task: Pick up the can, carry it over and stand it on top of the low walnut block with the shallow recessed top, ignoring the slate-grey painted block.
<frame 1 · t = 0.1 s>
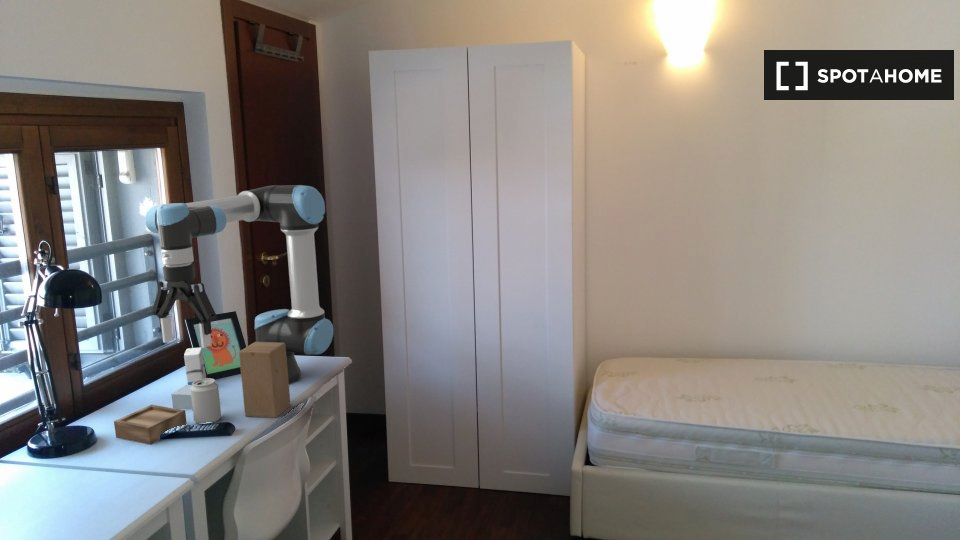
hand: (187, 343, 196), 28 cm above the table, fingers open, 13 cm apart
ink box: (197, 385, 248), on the table
can: (208, 421, 217), on the table
wooden block: (268, 411, 223), on the table
slate painted block: (192, 405, 230), on the table
walnut base block: (152, 431, 210), on the table
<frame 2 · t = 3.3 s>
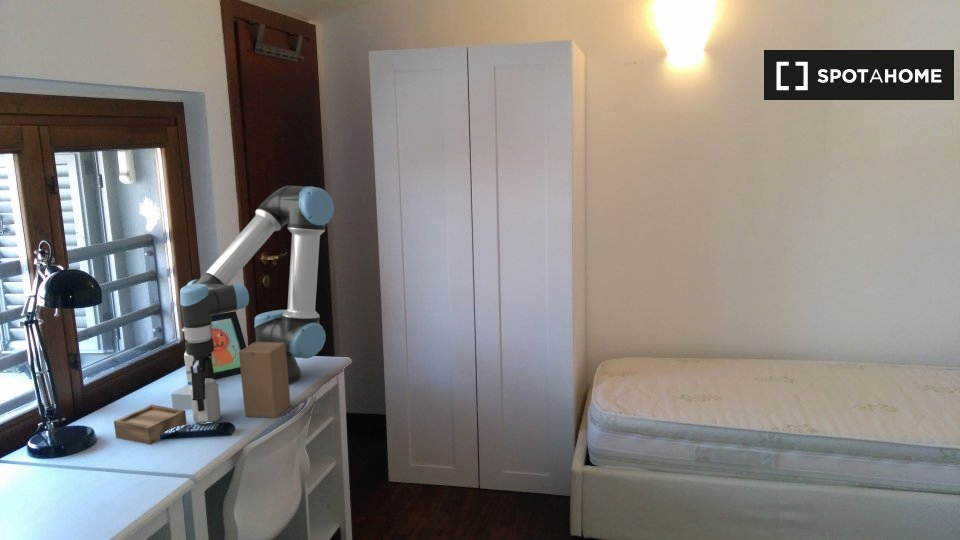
hand: (207, 415, 217), 2 cm above the table, fingers closed on can, 7 cm apart
can: (207, 421, 217), on the table, touching gripper
everything else where it was.
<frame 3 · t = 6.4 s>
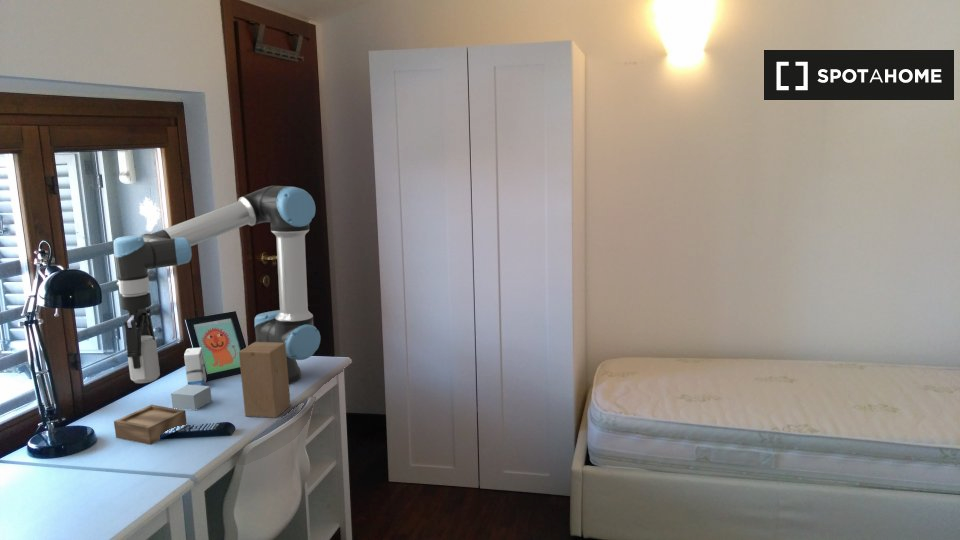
hand: (145, 373, 207), 17 cm above the table, fingers closed on can, 7 cm apart
can: (145, 380, 207), point 15 cm above the table, touching gripper
everything else where it was.
when the fingers open (6 cm above the table, at t = 9.9 s): can stays where it is, resting on walnut base block.
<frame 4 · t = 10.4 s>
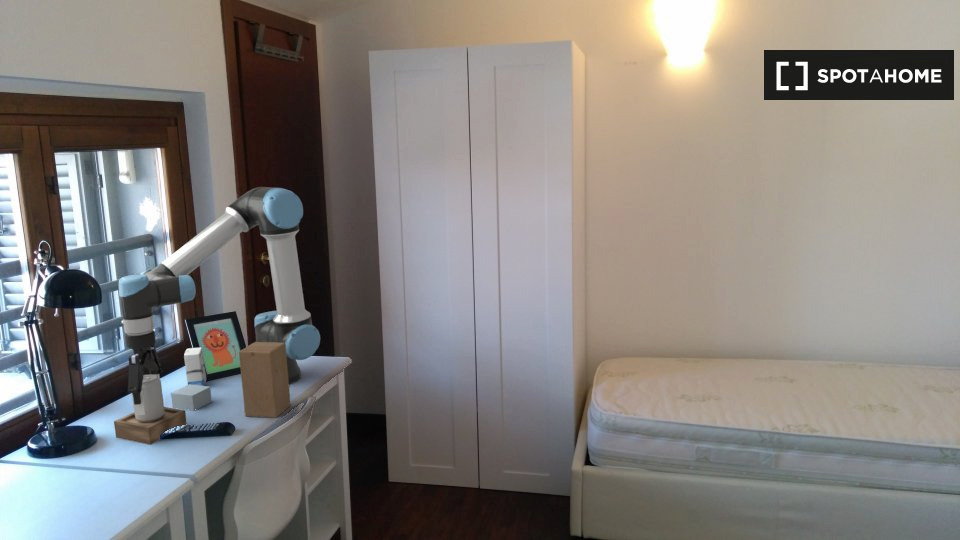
hand: (148, 405, 209), 8 cm above the table, fingers open, 13 cm apart
can: (150, 419, 210), point 4 cm above the table, touching walnut base block
everything else where it was.
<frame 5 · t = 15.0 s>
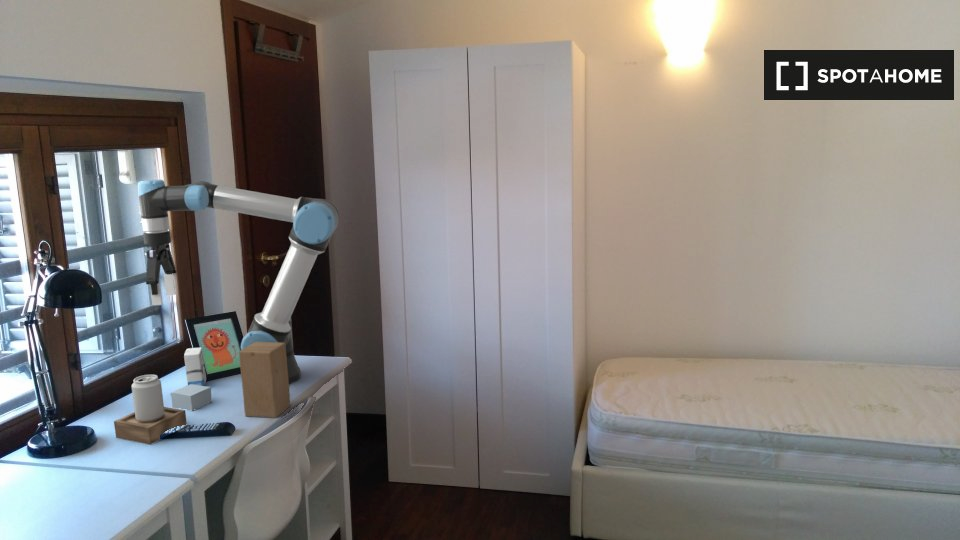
hand: (164, 299, 231), 32 cm above the table, fingers open, 13 cm apart
nothing on the table moved.
at the end: can inside the target area on the walnut base block (0.1 cm from its centre), point 3.8 cm above the walnut base block's base; can tilted 0°; the gripper is holding nothing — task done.
